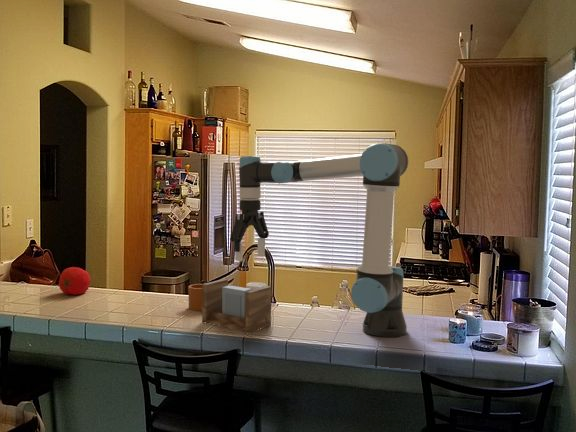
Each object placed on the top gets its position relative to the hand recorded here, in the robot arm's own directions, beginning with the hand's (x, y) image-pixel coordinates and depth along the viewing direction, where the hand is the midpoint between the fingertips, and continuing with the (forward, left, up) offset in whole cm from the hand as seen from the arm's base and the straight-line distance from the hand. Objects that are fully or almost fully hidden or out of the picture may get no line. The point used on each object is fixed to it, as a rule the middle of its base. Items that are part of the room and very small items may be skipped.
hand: (250, 258), depth 212 cm
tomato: (+88, +11, -24) cm, 91 cm away
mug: (+27, -4, -24) cm, 36 cm away
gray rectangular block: (+3, +4, -23) cm, 23 cm away
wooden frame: (+3, +5, -24) cm, 24 cm away
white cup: (+10, -16, -24) cm, 30 cm away
